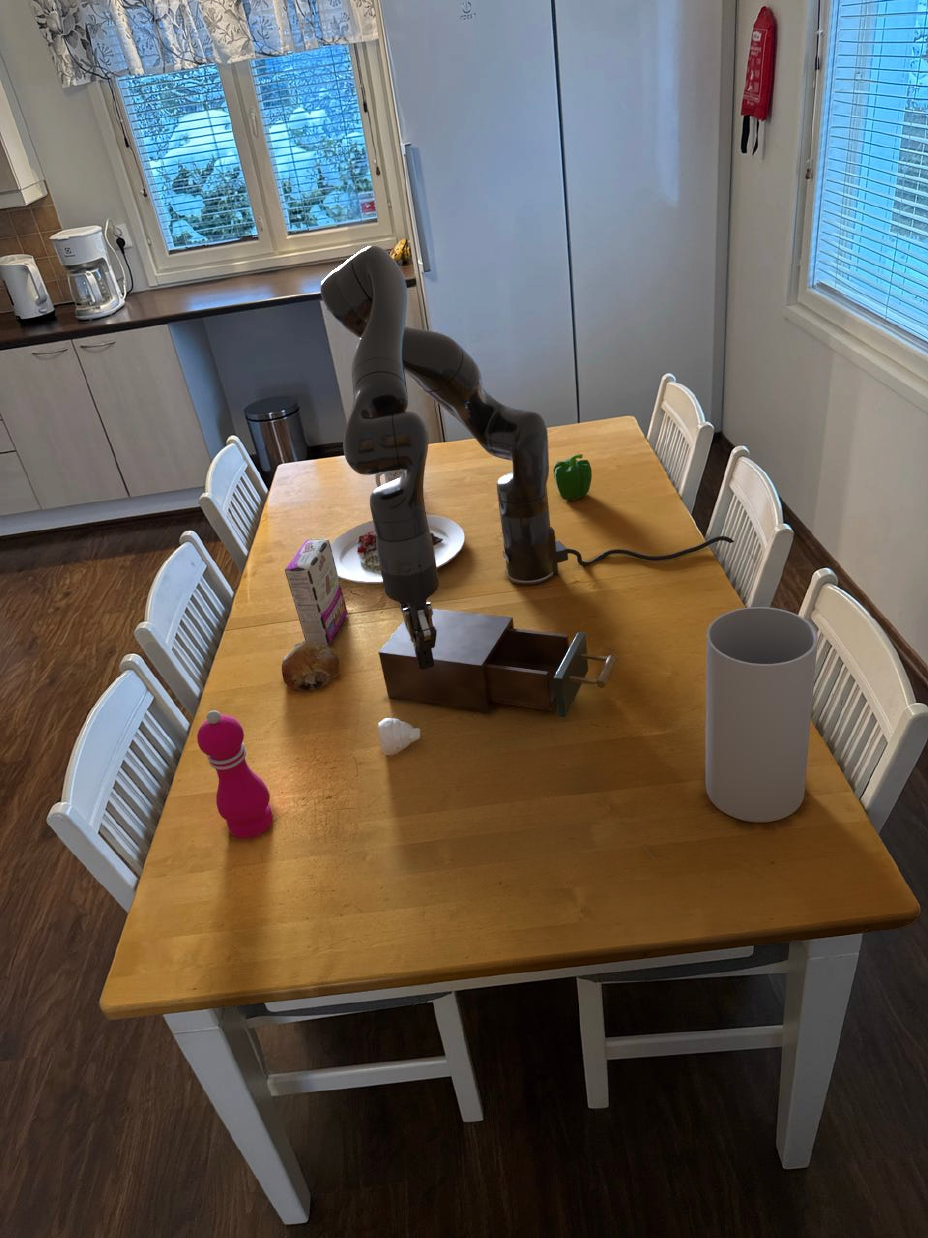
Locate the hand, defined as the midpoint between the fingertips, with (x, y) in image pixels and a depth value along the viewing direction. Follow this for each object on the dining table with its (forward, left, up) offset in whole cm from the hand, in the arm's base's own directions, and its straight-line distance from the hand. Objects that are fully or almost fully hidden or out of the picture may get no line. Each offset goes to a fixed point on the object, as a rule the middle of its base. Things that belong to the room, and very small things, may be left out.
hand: (426, 665), depth 131 cm
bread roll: (+16, -27, -14) cm, 34 cm away
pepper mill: (+30, +5, -14) cm, 33 cm away
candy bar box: (+11, -41, -14) cm, 45 cm away
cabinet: (-6, -14, -14) cm, 21 cm away
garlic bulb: (+6, -1, -14) cm, 15 cm away
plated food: (-8, -64, -14) cm, 66 cm away
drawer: (-19, -4, -13) cm, 23 cm away
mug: (-16, -98, -14) cm, 100 cm away
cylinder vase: (-35, +29, -14) cm, 48 cm away
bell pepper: (-51, -69, -14) cm, 87 cm away
